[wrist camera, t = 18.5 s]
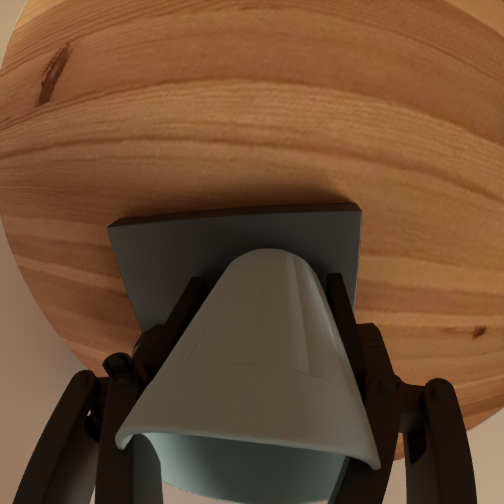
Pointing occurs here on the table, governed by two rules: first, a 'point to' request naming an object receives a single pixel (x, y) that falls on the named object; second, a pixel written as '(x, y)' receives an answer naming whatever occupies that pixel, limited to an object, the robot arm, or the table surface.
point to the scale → (228, 249)
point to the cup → (256, 391)
